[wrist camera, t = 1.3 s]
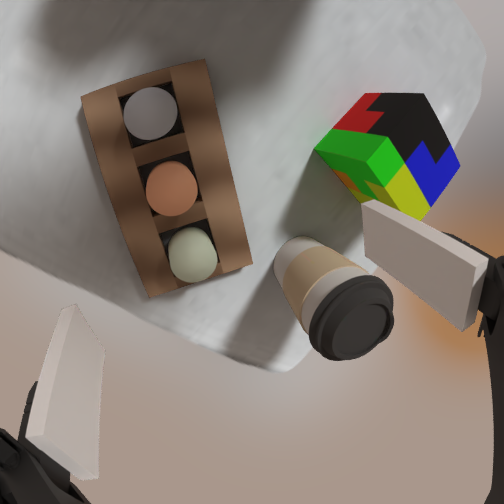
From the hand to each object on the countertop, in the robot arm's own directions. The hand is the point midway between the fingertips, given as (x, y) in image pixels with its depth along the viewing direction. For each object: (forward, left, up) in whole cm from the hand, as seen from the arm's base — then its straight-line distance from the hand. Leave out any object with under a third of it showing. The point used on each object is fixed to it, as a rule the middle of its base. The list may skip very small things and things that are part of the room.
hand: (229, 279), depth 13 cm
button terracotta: (-1, -1, -19) cm, 19 cm away
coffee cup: (+13, +11, -21) cm, 27 cm away
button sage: (+6, -2, -19) cm, 20 cm away
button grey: (-8, -2, -19) cm, 21 cm away
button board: (-1, -1, -21) cm, 21 cm away
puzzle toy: (+1, +21, -21) cm, 30 cm away
